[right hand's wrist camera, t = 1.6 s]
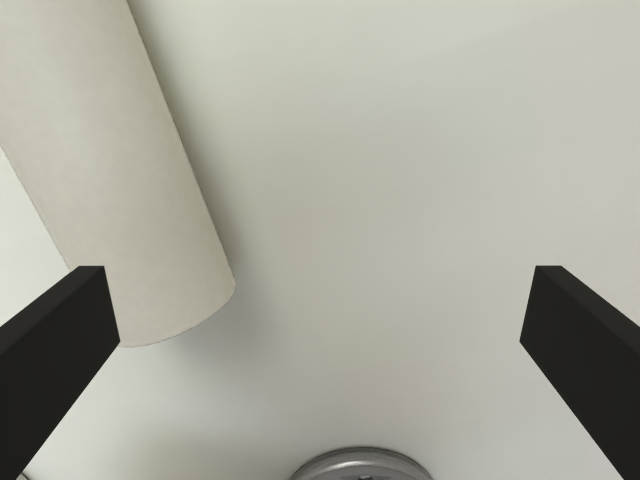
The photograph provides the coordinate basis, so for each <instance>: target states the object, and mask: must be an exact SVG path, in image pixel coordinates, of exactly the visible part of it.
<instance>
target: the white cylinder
mask: <svg viewBox="0 0 640 480" xmlns="http://www.w3.org/2000/svg"><path fill="white" fill-rule="evenodd" d="M0 146H1V148H2V150H3V152H4V153H5V155H6V157H7V159H8V161H9V162H10V164H11V166H12V168H13V170H14V171H15V173H16V175H17V177H18V179H19V180H20V182H21V184H22V186H23V188H24V189H25V191H26V193H27V195H28V197H29V198H30V200H31V202H32V204H33V206H34V207H35V209H36V211H37V213H38V215H39V216H40V218H41V220H42V222H43V224H44V225H45V227H46V229H47V231H48V233H49V234H50V236H51V238H52V240H53V242H54V243H55V245H56V247H57V249H58V251H59V253H60V254H61V256H62V258H63V260H64V262H65V263H66V265H67V267H68V269H69V271H70V272H71V271H73V270H74V269H75V268H77V267H78V266H104V267H105V272H106V277H107V281H108V286H109V290H110V295H111V300H112V304H113V309H114V313H115V318H116V323H117V327H118V332H119V336H120V341H121V342H120V343H119V344H118V346H119V347H139V346H145V345H150V344H153V343H157V342H160V341H163V340H166V339H169V338H171V337H174V336H176V335H179V334H181V333H183V332H185V331H187V330H189V329H191V328H193V327H195V326H197V325H198V324H200V323H202V322H203V321H205V320H206V319H208V318H209V317H211V316H212V315H213V314H215V313H216V312H217V311H218V310H220V309H221V308H222V307H223V306H224V305H225V304H226V303H227V302H228V301H229V299H230V298H231V297H232V295H233V293H234V291H235V288H236V281H235V278H234V276H233V273H232V270H231V268H230V265H229V263H228V260H227V258H226V255H225V252H224V250H223V247H222V245H221V242H220V240H219V237H218V234H217V232H216V229H215V227H214V224H213V222H212V219H211V216H210V214H209V211H208V209H207V206H206V204H205V201H204V198H203V196H202V193H201V191H200V188H199V186H198V183H197V180H196V178H195V175H194V173H193V170H192V168H191V165H190V162H189V160H188V157H187V155H186V152H185V150H184V147H183V144H182V142H181V139H180V137H179V134H178V132H177V129H176V126H175V124H174V121H173V119H172V116H171V114H170V111H169V108H168V106H167V103H166V101H165V98H164V96H163V93H162V90H161V88H160V85H159V83H158V80H157V78H156V75H155V72H154V70H153V67H152V65H151V62H150V60H149V57H148V54H147V52H146V49H145V47H144V44H143V42H142V39H141V36H140V34H139V31H138V29H137V26H136V24H135V21H134V18H133V16H132V13H131V11H130V8H129V6H128V3H127V0H0Z"/></svg>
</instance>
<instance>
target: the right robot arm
mask: <svg viewBox="0 0 640 480" xmlns="http://www.w3.org/2000/svg"><path fill="white" fill-rule="evenodd" d="M120 342H121V341H120V336H119V332H118V327H117V323H116V318H115V313H114V309H113V304H112V300H111V295H110V290H109V286H108V281H107V277H106V272H105V267H104V266H78V267H77V268H75V269H74V270H73V271H71V272H70V273H69V274H68V275H66V276H65V277H64V278H62V279H61V280H60V281H59V282H57V283H56V284H55V285H54V286H52V287H51V288H50V289H48V290H47V291H46V292H45V293H43V294H42V295H41V296H39V297H38V298H37V299H36V300H34V301H33V302H32V303H30V304H29V305H28V306H27V307H25V308H24V309H23V310H21V311H20V312H19V313H18V314H16V315H15V316H14V317H12V318H11V319H10V320H9V321H7V322H6V323H5V324H4V325H2V326H1V327H0V480H16V479H17V478H18V477H19V475H20V474H21V473H22V471H23V470H24V469H25V467H26V466H27V465H28V463H29V462H30V461H31V459H32V458H33V457H34V455H35V454H36V453H37V452H38V450H39V449H40V448H41V446H42V445H43V444H44V442H45V441H46V440H47V438H48V437H49V436H50V434H51V433H52V432H53V430H54V429H55V428H56V426H57V425H58V424H59V422H60V421H61V420H62V418H63V417H64V416H65V414H66V413H67V412H68V410H69V409H70V408H71V407H72V405H73V404H74V403H75V401H76V400H77V399H78V397H79V396H80V395H81V393H82V392H83V391H84V389H85V388H86V387H87V385H88V384H89V383H90V381H91V380H92V379H93V377H94V376H95V375H96V373H97V372H98V371H99V369H100V368H101V367H102V365H103V364H104V363H105V362H106V360H107V359H108V358H109V356H110V355H111V354H112V352H113V351H114V350H115V348H116V347H117V346H118V344H119V343H120ZM519 342H520V343H521V344H522V346H523V347H524V348H525V350H526V351H527V352H528V354H529V355H530V356H531V358H532V359H533V360H534V362H535V363H536V364H537V365H538V367H539V368H540V369H541V371H542V372H543V373H544V375H545V376H546V377H547V379H548V380H549V381H550V383H551V384H552V385H553V387H554V388H555V389H556V391H557V392H558V393H559V395H560V396H561V397H562V399H563V400H564V401H565V403H566V404H567V405H568V407H569V408H570V409H571V410H572V412H573V413H574V414H575V416H576V417H577V418H578V420H579V421H580V422H581V424H582V425H583V426H584V428H585V429H586V430H587V432H588V433H589V434H590V436H591V437H592V438H593V440H594V441H595V442H596V444H597V445H598V446H599V448H600V449H601V450H602V452H603V453H604V454H605V455H606V457H607V458H608V459H609V461H610V462H611V463H612V465H613V466H614V467H615V469H616V470H617V471H618V473H619V474H620V475H621V477H622V478H623V479H624V480H640V327H639V326H638V325H636V324H635V323H634V322H633V321H631V320H630V319H629V318H628V317H626V316H625V315H624V314H622V313H621V312H620V311H619V310H617V309H616V308H615V307H613V306H612V305H611V304H610V303H608V302H607V301H606V300H604V299H603V298H602V297H601V296H599V295H598V294H597V293H595V292H594V291H593V290H592V289H590V288H589V287H588V286H586V285H585V284H584V283H583V282H581V281H580V280H579V279H578V278H576V277H575V276H574V275H572V274H571V273H570V272H569V271H567V270H566V269H565V268H563V267H562V266H536V267H535V272H534V277H533V281H532V286H531V290H530V295H529V300H528V304H527V309H526V313H525V318H524V323H523V327H522V332H521V336H520V341H519ZM290 480H432V478H431V477H430V475H429V474H428V473H427V472H426V471H425V470H424V469H423V468H422V467H421V466H420V465H419V464H417V463H416V462H414V461H413V460H411V459H409V458H407V457H405V456H403V455H400V454H397V453H395V452H391V451H387V450H382V449H375V448H350V449H343V450H338V451H334V452H330V453H327V454H325V455H322V456H320V457H317V458H315V459H313V460H312V461H310V462H308V463H307V464H305V465H304V466H302V467H301V468H300V469H299V470H298V471H297V472H296V473H295V474H294V475H293V476H292V477H291V478H290Z"/></svg>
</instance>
